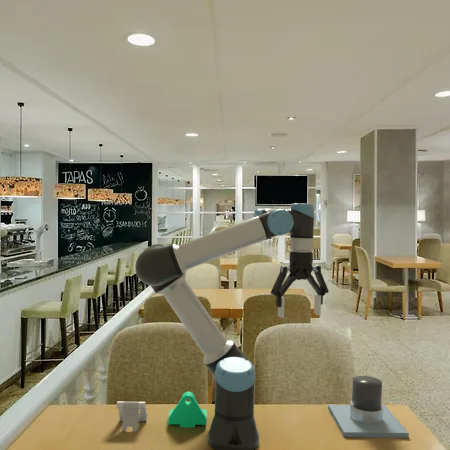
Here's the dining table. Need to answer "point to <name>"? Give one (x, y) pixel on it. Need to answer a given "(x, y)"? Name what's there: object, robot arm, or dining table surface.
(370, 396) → the dome-topped grey cylinder
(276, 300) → the robot arm
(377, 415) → the pale grey faceted ring
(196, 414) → the camera mount
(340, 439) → the dining table surface
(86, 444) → the dining table surface
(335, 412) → the board
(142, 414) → the portable electronic device stand
